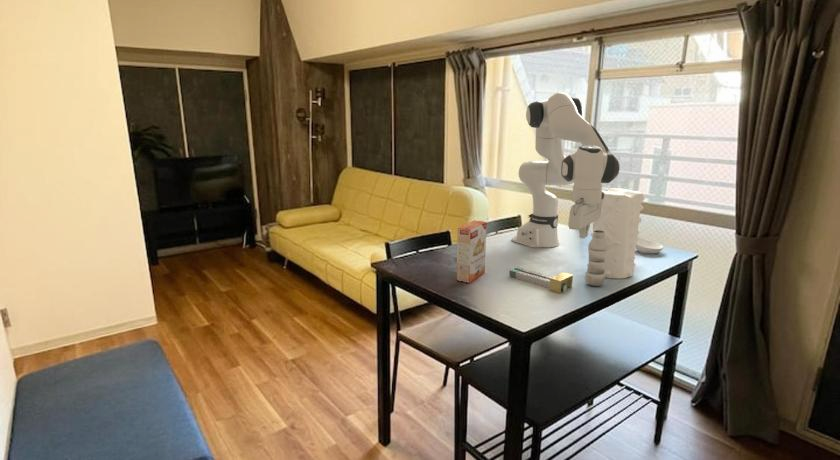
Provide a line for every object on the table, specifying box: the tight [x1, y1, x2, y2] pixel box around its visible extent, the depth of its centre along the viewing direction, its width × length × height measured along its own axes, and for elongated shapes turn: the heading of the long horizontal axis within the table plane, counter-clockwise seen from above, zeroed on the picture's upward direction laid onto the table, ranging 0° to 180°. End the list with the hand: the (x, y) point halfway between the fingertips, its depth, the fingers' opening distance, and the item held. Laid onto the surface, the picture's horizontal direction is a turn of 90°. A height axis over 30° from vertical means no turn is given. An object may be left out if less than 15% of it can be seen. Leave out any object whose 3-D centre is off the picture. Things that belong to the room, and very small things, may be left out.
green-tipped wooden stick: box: [508, 268, 568, 294], centre depth 168 cm, size 23×4×3 cm, turn 43°
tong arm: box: [513, 266, 553, 280], centre depth 172 cm, size 16×2×3 cm, turn 43°
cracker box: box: [456, 220, 488, 284], centre depth 173 cm, size 14×6×21 cm, turn 148°
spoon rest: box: [636, 235, 664, 255], centre depth 206 cm, size 24×12×7 cm, turn 44°
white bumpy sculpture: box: [586, 187, 645, 279], centre depth 174 cm, size 17×16×32 cm
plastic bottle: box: [584, 230, 608, 287], centre depth 163 cm, size 6×7×20 cm
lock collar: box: [549, 271, 574, 294], centre depth 162 cm, size 4×8×5 cm, turn 133°
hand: (583, 237), depth 152 cm, fingers closed
